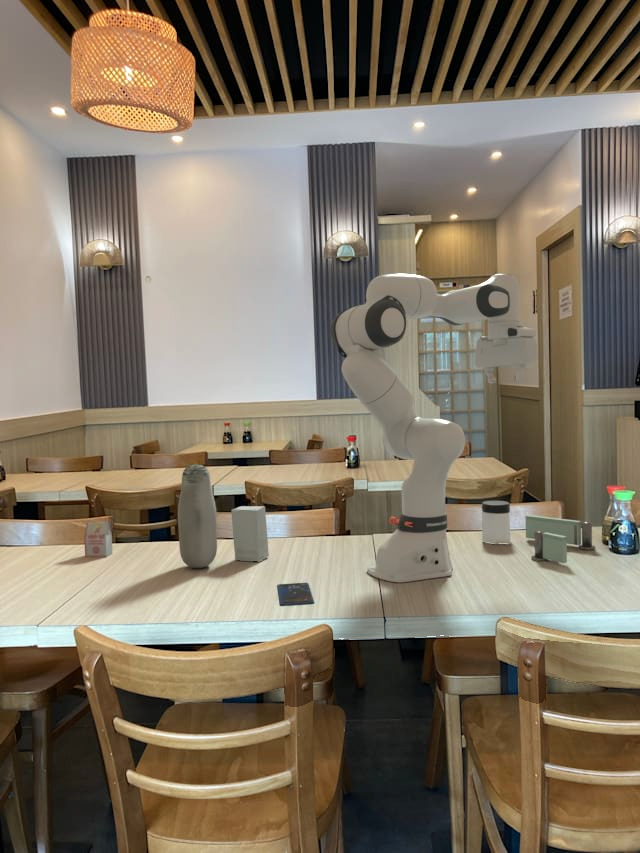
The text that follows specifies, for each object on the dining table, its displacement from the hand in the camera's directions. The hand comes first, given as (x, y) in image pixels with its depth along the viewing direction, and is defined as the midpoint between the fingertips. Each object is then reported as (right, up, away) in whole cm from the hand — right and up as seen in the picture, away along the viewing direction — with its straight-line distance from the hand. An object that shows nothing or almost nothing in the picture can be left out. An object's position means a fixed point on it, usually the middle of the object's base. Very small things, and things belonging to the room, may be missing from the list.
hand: (504, 382), depth 174 cm
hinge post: (+24, -47, +2) cm, 53 cm away
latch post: (+7, -48, -9) cm, 49 cm away
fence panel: (+9, -48, -13) cm, 51 cm away
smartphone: (-58, -52, -32) cm, 84 cm away
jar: (+1, -48, +13) cm, 49 cm away
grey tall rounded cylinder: (-85, -51, -7) cm, 99 cm away
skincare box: (-72, -50, 0) cm, 88 cm away
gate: (+17, -46, +9) cm, 50 cm away
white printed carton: (-118, -51, +10) cm, 129 cm away
